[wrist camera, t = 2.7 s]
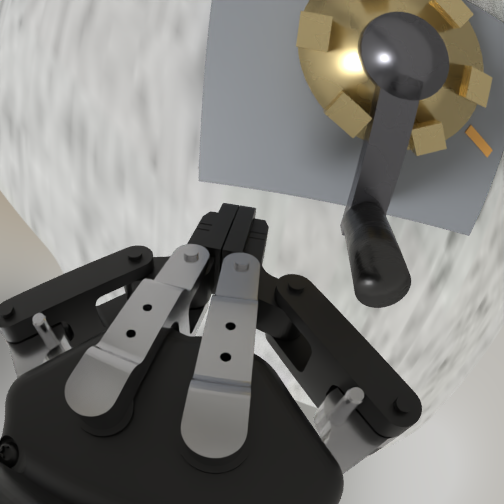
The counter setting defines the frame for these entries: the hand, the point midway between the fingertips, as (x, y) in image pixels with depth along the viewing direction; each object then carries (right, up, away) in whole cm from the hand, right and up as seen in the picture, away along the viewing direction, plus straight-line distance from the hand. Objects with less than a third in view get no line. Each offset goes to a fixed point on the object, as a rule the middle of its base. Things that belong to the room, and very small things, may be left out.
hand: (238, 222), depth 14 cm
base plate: (+8, +9, +1) cm, 12 cm away
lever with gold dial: (+8, +7, 0) cm, 11 cm away
